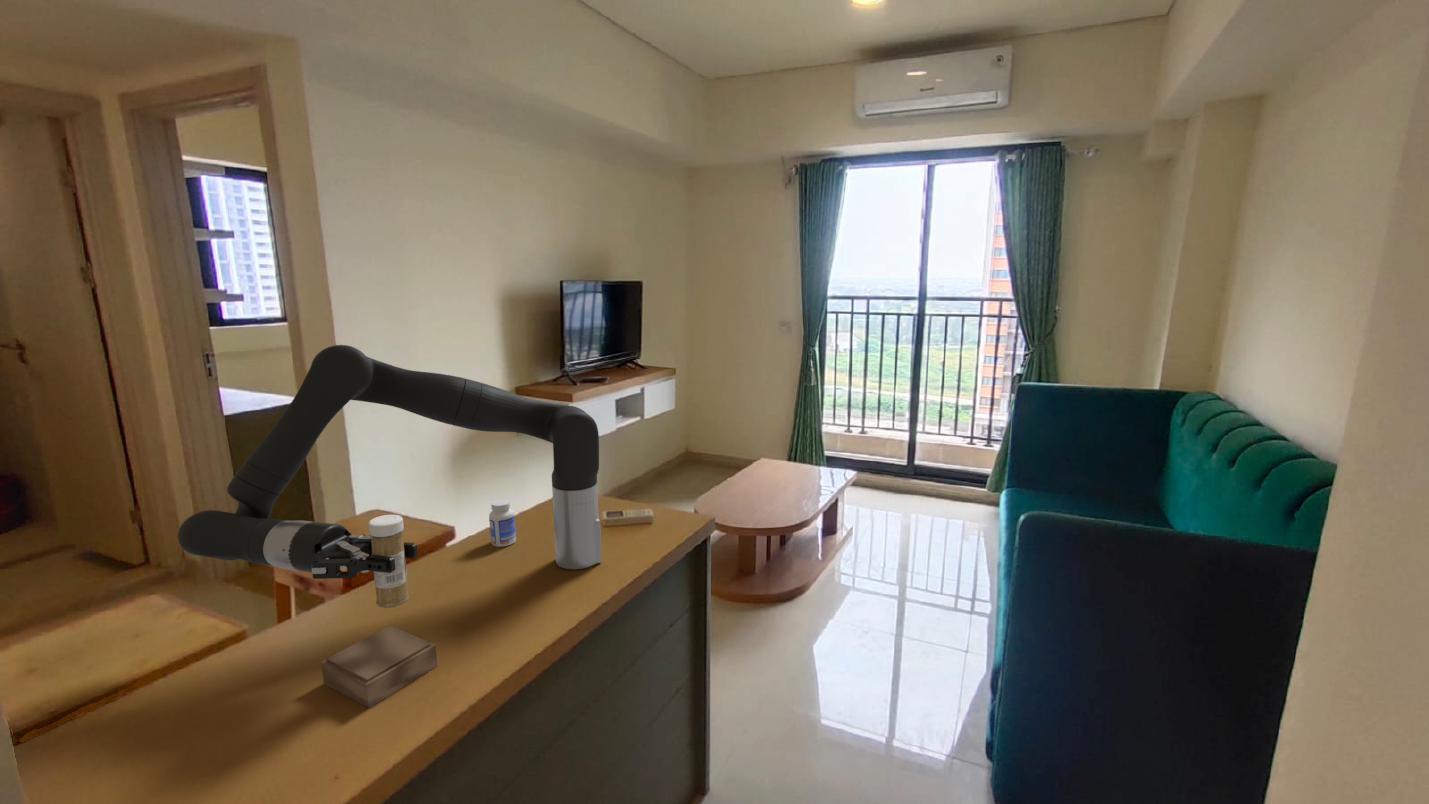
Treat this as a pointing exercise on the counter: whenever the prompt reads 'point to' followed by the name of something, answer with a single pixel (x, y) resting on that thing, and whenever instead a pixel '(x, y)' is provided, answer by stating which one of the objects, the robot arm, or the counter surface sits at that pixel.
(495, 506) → the pill bottle
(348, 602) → the counter surface
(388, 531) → the sprinkles bottle
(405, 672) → the walnut plinth
